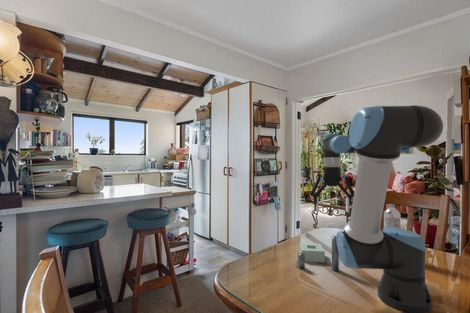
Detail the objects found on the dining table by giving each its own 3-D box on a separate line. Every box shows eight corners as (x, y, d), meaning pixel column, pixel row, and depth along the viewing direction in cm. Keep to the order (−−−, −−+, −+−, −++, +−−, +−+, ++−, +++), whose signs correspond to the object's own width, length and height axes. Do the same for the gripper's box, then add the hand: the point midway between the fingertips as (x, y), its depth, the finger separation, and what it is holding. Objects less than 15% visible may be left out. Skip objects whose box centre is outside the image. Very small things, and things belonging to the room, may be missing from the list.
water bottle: (395, 254, 123) (395, 203, 123) (403, 260, 116) (403, 205, 116) (381, 253, 123) (380, 203, 123) (388, 259, 116) (388, 205, 116)
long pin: (339, 271, 105) (339, 238, 105) (332, 271, 105) (332, 237, 105) (338, 268, 107) (337, 236, 107) (331, 268, 108) (331, 235, 108)
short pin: (305, 269, 107) (305, 255, 107) (298, 269, 107) (298, 255, 107) (304, 266, 110) (304, 252, 109) (297, 266, 110) (297, 252, 110)
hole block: (324, 262, 114) (324, 251, 114) (302, 261, 115) (301, 250, 115) (320, 253, 123) (320, 243, 123) (299, 252, 125) (299, 242, 125)
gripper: (357, 166, 121) (357, 210, 120) (303, 166, 125) (304, 209, 124) (362, 166, 113) (363, 213, 113) (305, 166, 117) (306, 212, 117)
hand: (332, 211), depth 119 cm, fingers open, 13 cm apart
